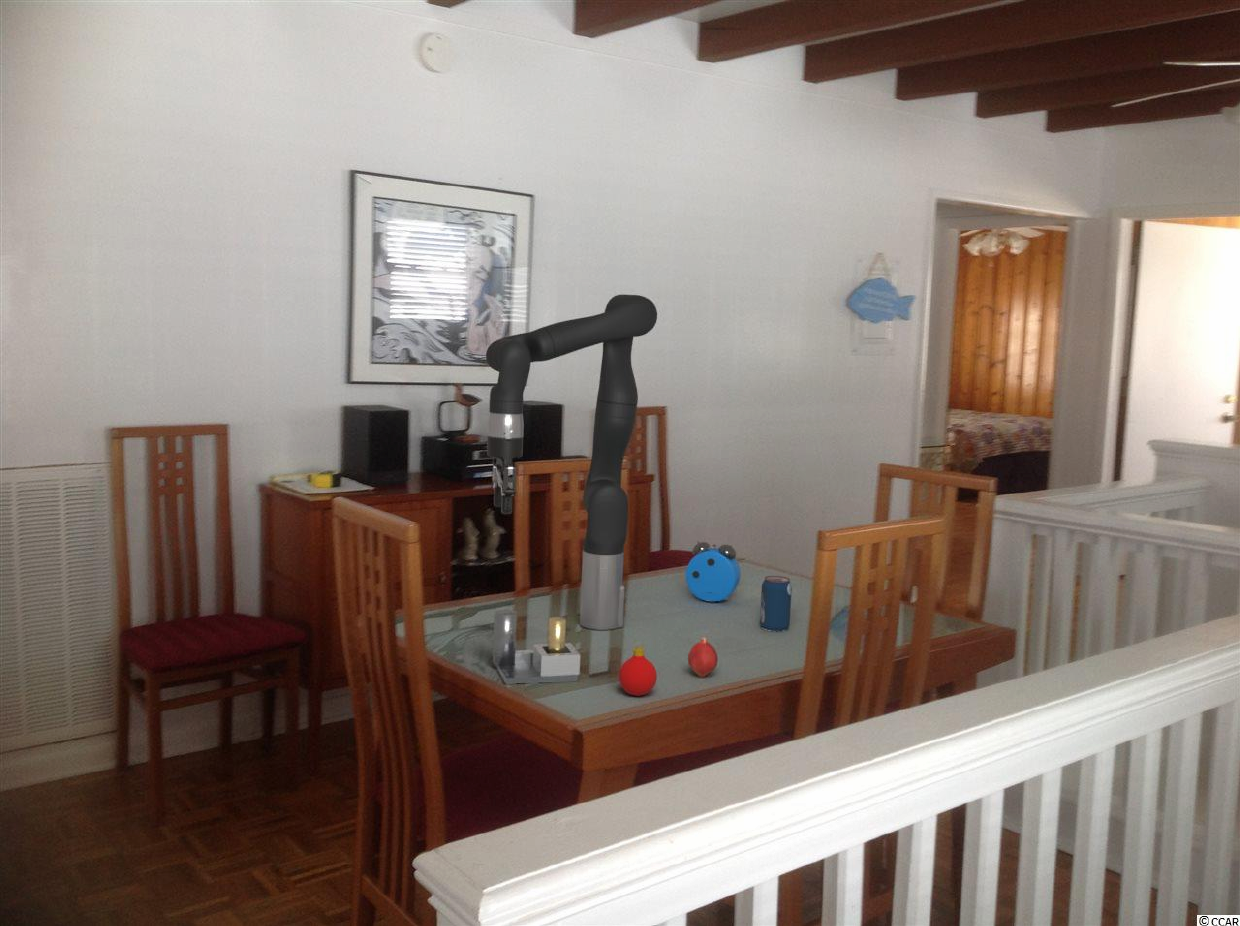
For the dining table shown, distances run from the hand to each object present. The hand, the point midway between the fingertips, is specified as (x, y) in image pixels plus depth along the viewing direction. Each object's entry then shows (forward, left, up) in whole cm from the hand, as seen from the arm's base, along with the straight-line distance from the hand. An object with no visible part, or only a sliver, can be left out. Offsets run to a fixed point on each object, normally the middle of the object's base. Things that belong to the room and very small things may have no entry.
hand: (502, 510), depth 229 cm
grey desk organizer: (-3, +24, -28) cm, 37 cm away
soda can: (-65, 0, -28) cm, 71 cm away
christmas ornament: (-19, +39, -28) cm, 52 cm away
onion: (-35, +31, -28) cm, 55 cm away
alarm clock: (-60, -27, -28) cm, 72 cm away
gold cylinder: (-6, +26, -27) cm, 38 cm away
